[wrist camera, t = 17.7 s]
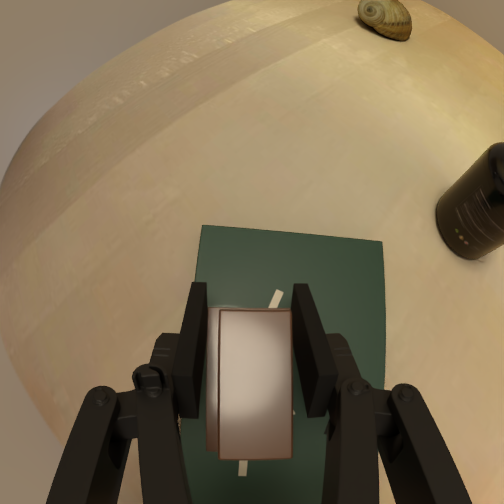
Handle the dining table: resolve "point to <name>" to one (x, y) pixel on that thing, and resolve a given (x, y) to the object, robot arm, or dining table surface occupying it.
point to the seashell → (386, 18)
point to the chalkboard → (333, 320)
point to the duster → (249, 383)
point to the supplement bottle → (475, 207)
